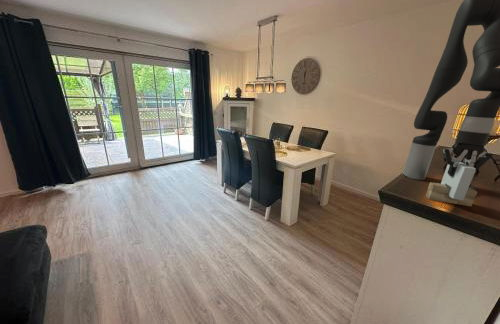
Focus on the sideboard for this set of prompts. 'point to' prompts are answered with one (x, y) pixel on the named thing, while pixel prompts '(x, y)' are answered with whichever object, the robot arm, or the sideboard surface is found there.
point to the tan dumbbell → (440, 194)
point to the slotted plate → (458, 180)
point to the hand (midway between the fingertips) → (456, 176)
